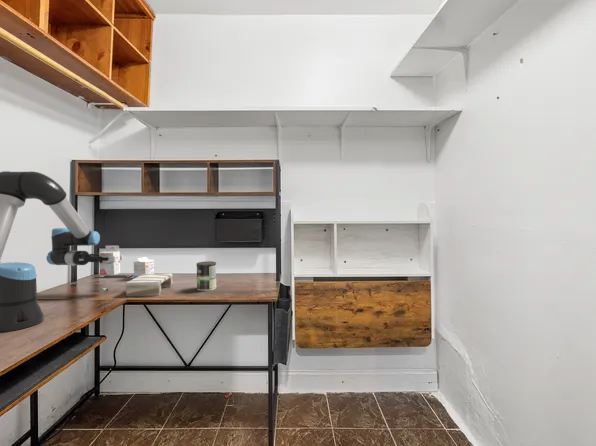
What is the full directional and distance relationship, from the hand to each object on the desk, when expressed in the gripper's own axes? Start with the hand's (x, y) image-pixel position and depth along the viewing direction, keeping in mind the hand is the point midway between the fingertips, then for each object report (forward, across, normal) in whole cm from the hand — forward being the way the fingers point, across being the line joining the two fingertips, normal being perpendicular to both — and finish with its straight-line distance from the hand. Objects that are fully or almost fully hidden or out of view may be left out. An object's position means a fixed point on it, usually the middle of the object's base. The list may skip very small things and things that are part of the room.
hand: (118, 258), depth 162 cm
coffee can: (+41, -14, -19) cm, 47 cm away
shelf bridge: (+13, -7, -18) cm, 23 cm away
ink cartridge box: (-5, 0, -9) cm, 10 cm away
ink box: (-8, -34, -18) cm, 39 cm away
